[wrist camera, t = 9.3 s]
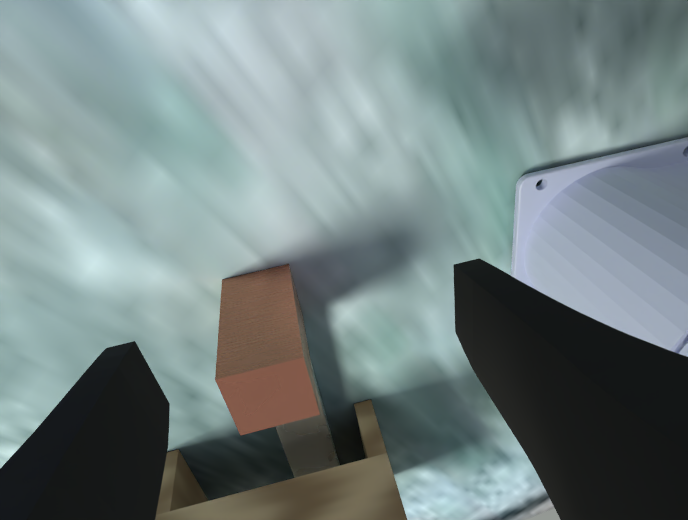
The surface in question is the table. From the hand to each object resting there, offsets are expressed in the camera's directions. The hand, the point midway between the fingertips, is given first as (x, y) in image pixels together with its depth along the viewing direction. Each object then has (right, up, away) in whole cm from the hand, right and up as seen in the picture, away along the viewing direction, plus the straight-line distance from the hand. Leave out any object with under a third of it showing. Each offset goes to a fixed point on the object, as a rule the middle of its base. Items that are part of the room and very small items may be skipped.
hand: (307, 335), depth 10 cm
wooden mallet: (-2, -6, +14) cm, 16 cm away
